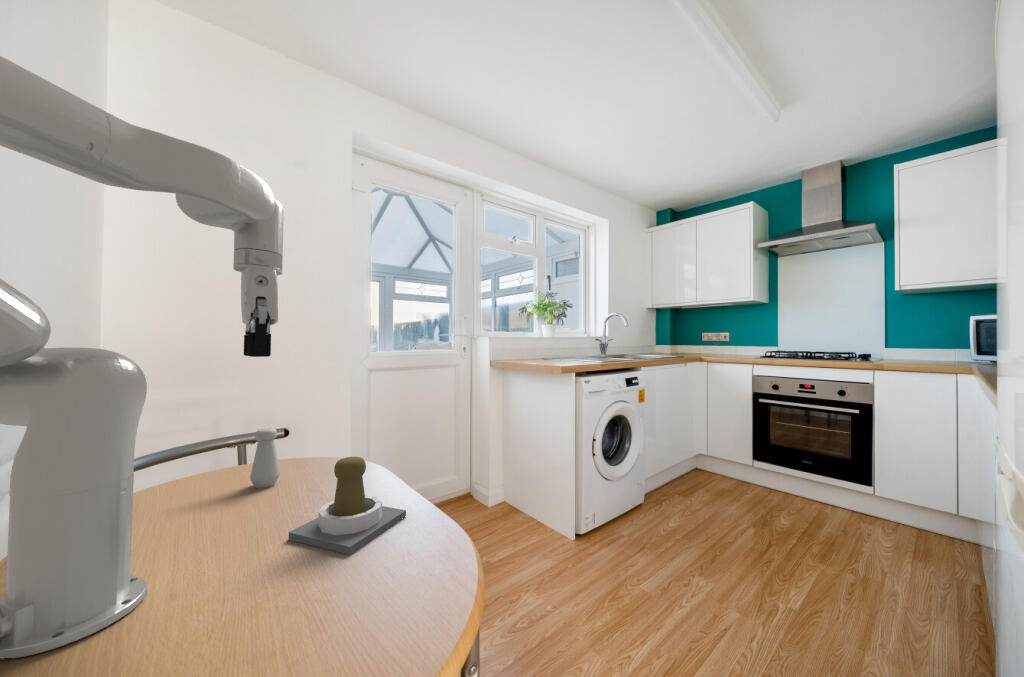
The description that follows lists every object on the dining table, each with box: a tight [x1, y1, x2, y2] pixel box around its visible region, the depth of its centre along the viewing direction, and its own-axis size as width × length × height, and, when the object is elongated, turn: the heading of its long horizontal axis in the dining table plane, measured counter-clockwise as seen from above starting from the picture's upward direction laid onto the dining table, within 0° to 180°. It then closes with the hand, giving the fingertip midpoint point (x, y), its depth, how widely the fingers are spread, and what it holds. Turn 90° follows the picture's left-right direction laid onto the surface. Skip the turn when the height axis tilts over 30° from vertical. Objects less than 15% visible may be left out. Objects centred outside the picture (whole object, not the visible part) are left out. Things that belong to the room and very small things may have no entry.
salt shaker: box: [249, 427, 281, 489], centre depth 87 cm, size 6×6×13 cm
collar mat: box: [288, 494, 407, 555], centre depth 66 cm, size 14×13×4 cm
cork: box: [332, 456, 367, 517], centre depth 66 cm, size 6×6×11 cm
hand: (256, 356), depth 69 cm, fingers open, 9 cm apart
